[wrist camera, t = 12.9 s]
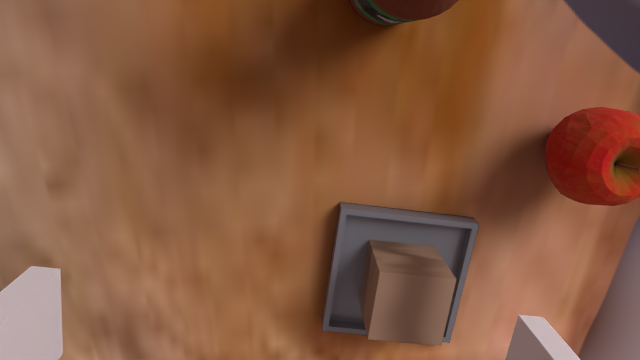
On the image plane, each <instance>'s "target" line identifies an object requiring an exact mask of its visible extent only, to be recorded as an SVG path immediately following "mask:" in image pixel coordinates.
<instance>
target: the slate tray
mask: <svg viewBox="0 0 640 360" xmlns="http://www.w3.org/2000/svg"><path fill="white" fill-rule="evenodd" d="M478 227H479V223H478V222H477V221H476V220H475V219H474V218H473V217H465V216H456V215H447V214H439V213H430V212H421V211H413V210H404V209H395V208H387V207H378V206H369V205H361V204H352V203H343V202H340V205H339V212H338V218H337V225H336V231H335V238H334V244H333V250H332V257H331V263H330V270H329V276H328V283H327V289H326V296H325V302H324V309H323V315H322V331H330V332H340V333H351V334H361V335H367V333H366V329H365V324H364V320H363V315H362V311H361V306H360V301H359V296H360V290H361V284H362V278H363V272H364V266H365V260H366V254H367V248H368V242H369V240H378V241H388V242H398V243H408V244H418V245H428V246H435V247H436V249H437V250H438V252H439V253H440V255H441V256H442V258H443V259H444V261H445V262H446V264H447V266H448V267H449V269H450V270H451V272H452V273H453V275H454V276H455V278H456V284H455V288H454V292H453V296H452V301H451V305H450V309H449V314H448V318H447V322H446V327H445V331H444V335H443V340H442V342H446V343H450V339H451V335H452V331H453V327H454V323H455V319H456V315H457V311H458V307H459V303H460V299H461V295H462V291H463V287H464V283H465V279H466V275H467V271H468V267H469V263H470V259H471V255H472V251H473V247H474V243H475V239H476V235H477V231H478Z"/></svg>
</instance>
